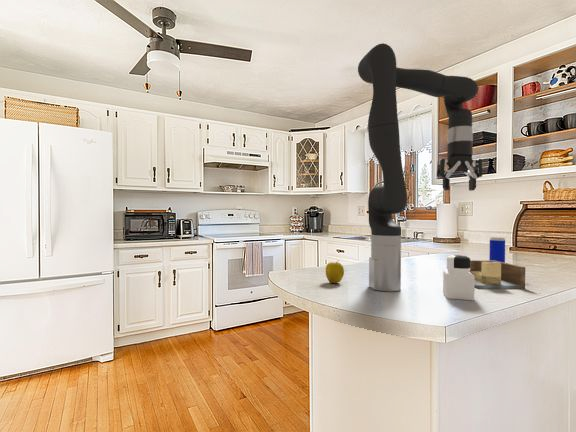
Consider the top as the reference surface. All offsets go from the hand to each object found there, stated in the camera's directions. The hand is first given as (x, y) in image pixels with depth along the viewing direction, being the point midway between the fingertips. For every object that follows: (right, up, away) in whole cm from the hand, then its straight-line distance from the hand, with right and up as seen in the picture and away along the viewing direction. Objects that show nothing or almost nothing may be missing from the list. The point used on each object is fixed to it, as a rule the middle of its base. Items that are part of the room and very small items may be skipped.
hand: (459, 190), depth 107 cm
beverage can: (+25, -32, +19) cm, 45 cm away
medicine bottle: (-8, -32, -14) cm, 36 cm away
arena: (+12, -32, +4) cm, 34 cm away
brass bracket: (+10, -31, +3) cm, 33 cm away
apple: (-41, -32, +3) cm, 52 cm away
